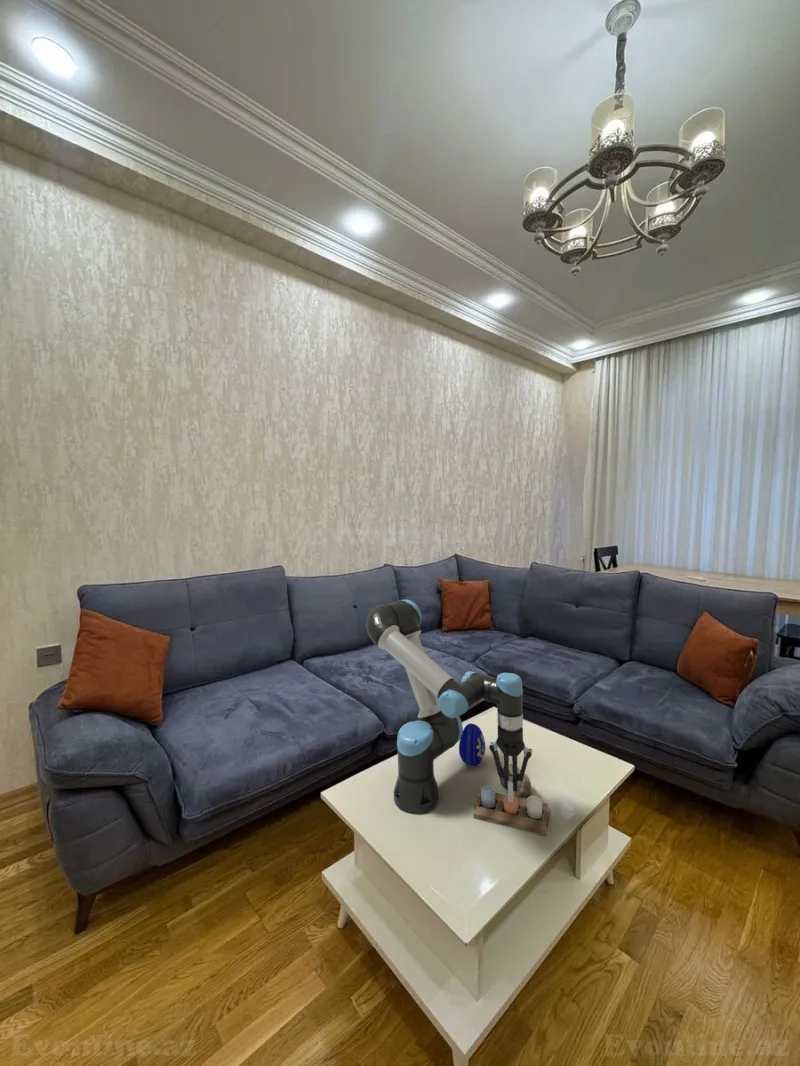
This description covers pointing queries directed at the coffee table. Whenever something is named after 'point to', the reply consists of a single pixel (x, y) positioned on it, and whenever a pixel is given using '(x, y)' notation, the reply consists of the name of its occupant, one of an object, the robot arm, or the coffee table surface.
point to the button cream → (534, 807)
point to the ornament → (472, 745)
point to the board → (509, 819)
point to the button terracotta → (511, 806)
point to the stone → (519, 784)
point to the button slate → (488, 797)
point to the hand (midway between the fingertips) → (511, 799)
